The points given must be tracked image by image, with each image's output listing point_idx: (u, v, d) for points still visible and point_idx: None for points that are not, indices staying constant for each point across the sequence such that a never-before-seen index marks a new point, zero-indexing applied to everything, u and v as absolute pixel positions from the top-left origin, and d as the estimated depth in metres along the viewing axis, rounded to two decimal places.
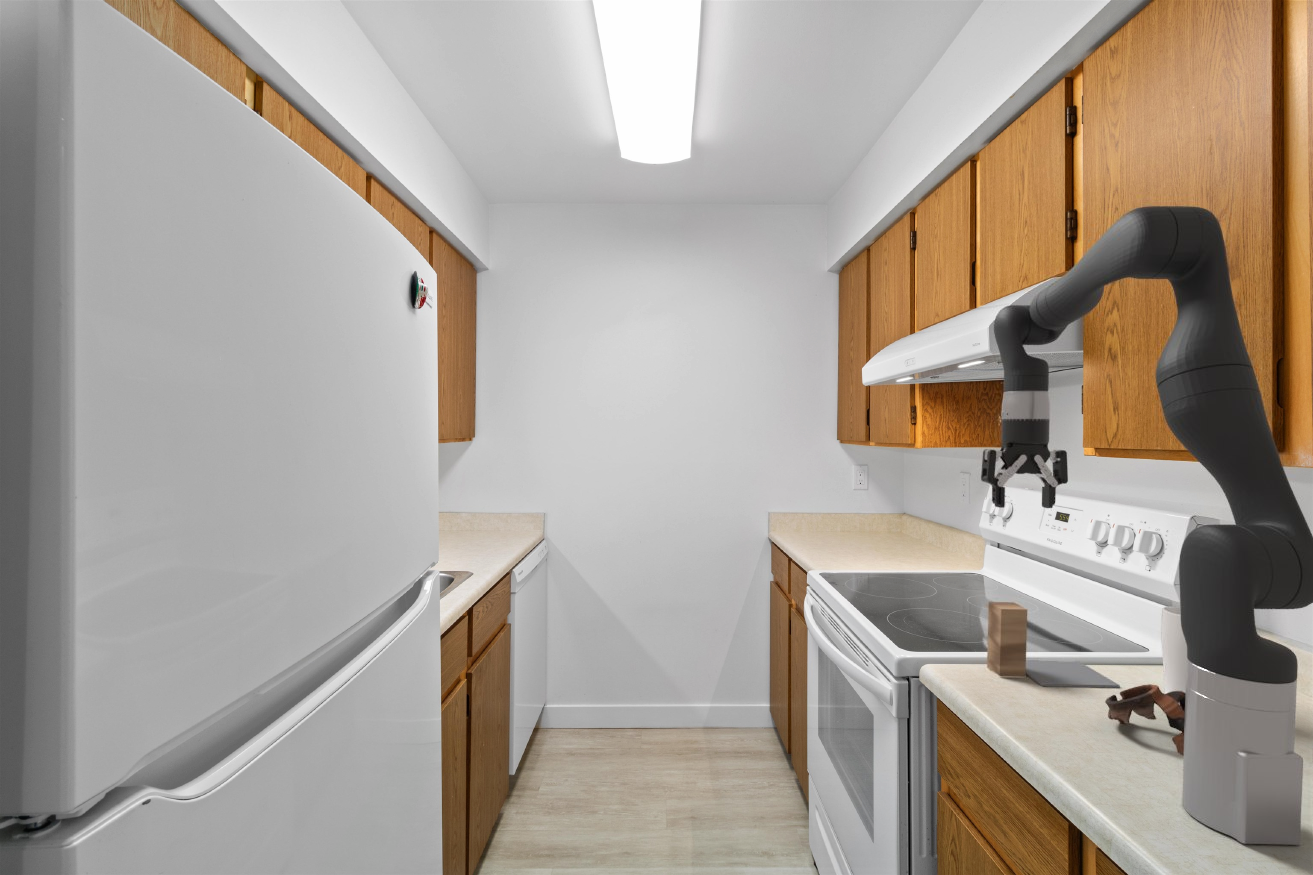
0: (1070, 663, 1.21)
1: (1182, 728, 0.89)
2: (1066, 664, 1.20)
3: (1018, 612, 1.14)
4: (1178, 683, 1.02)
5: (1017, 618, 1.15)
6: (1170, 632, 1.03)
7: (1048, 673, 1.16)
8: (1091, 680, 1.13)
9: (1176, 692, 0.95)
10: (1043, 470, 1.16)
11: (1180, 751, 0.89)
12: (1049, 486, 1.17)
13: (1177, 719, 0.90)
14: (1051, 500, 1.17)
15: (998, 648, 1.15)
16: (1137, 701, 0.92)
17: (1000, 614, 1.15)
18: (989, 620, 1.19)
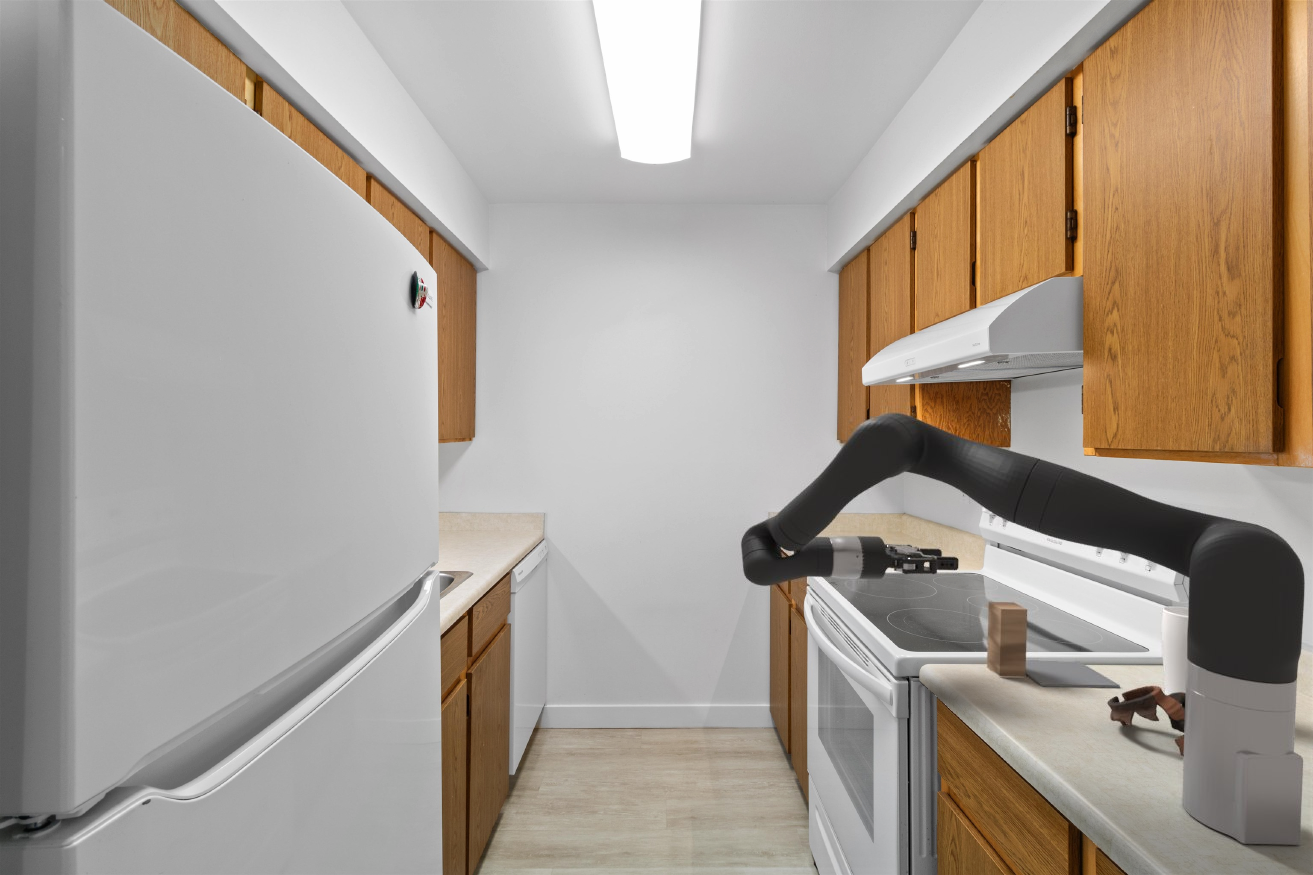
0: (1070, 663, 1.21)
1: None
2: (1066, 664, 1.20)
3: (1018, 612, 1.14)
4: (1178, 683, 1.02)
5: (1017, 618, 1.15)
6: (1170, 632, 1.03)
7: (1048, 673, 1.16)
8: (1091, 680, 1.13)
9: (1178, 693, 0.94)
10: (904, 546, 1.19)
11: (1183, 753, 0.88)
12: (919, 551, 1.20)
13: (1180, 721, 0.89)
14: None
15: (998, 648, 1.15)
16: (1140, 703, 0.91)
17: (1000, 614, 1.15)
18: (989, 620, 1.19)
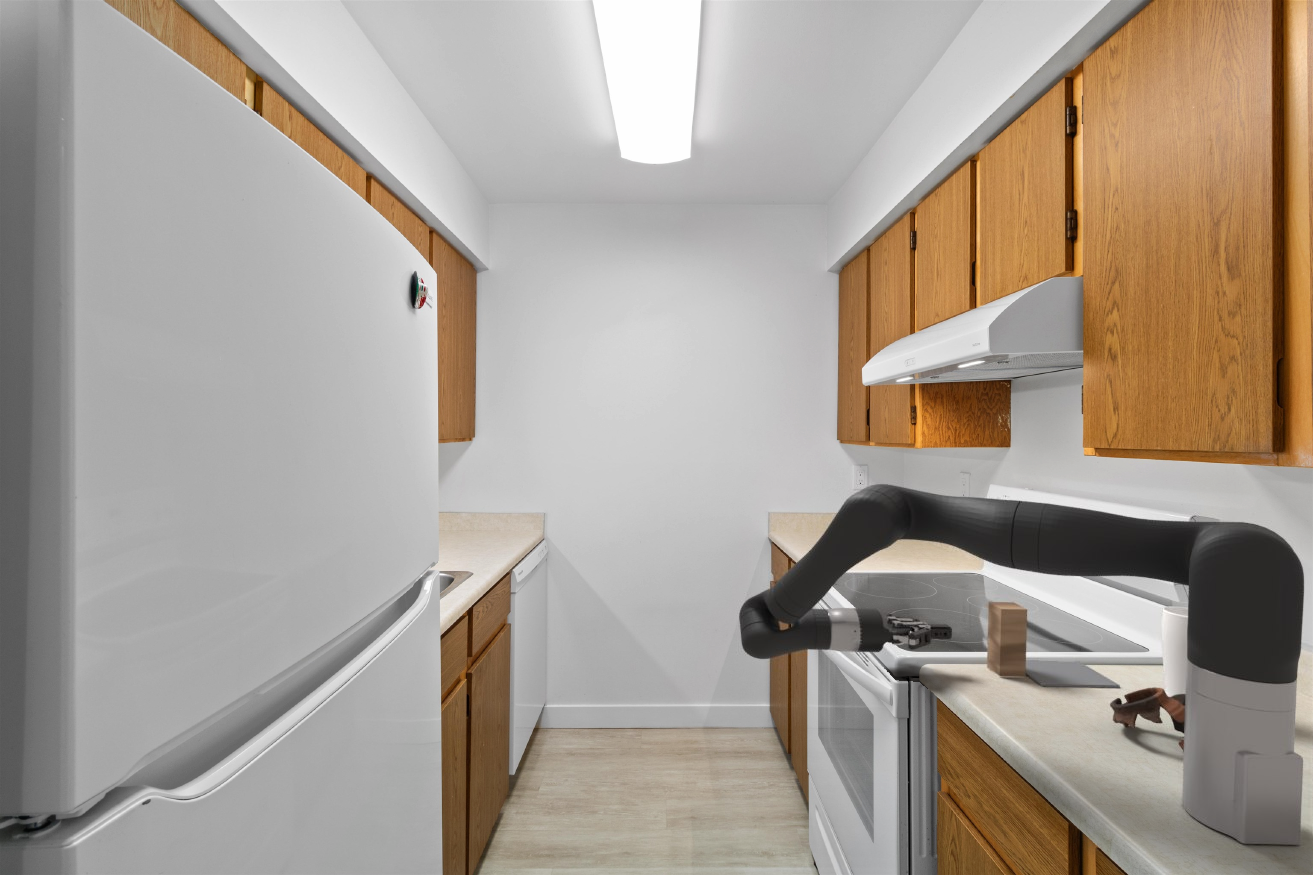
0: (1070, 663, 1.21)
1: None
2: (1066, 664, 1.20)
3: (1018, 612, 1.15)
4: (1178, 683, 1.02)
5: (1017, 618, 1.15)
6: (1170, 632, 1.03)
7: (1048, 673, 1.16)
8: (1091, 680, 1.13)
9: (1181, 695, 0.94)
10: (905, 619, 1.18)
11: None
12: None
13: (1183, 723, 0.89)
14: (941, 624, 1.17)
15: (998, 648, 1.15)
16: (1143, 705, 0.91)
17: (1000, 614, 1.15)
18: (989, 620, 1.19)
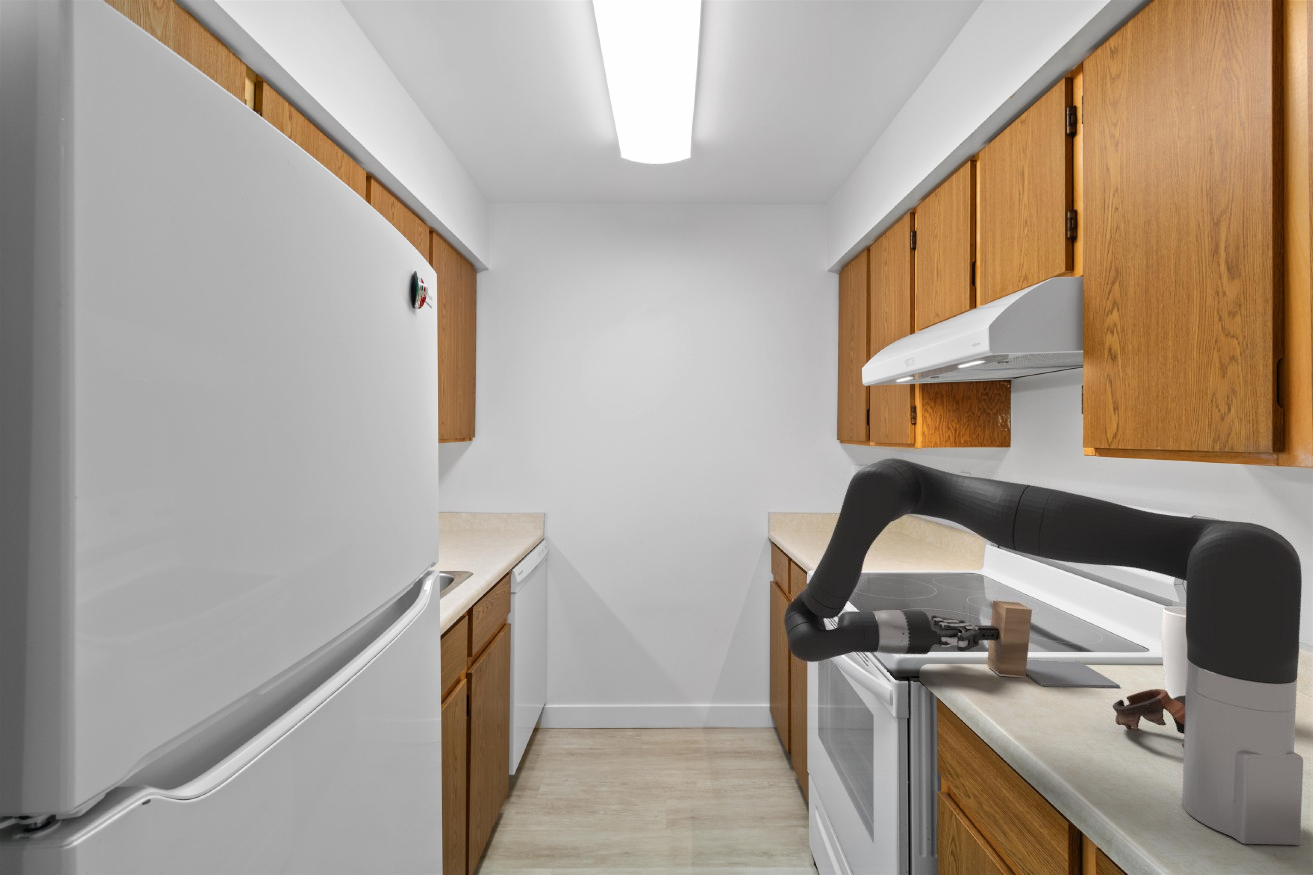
0: (1070, 663, 1.21)
1: None
2: (1066, 664, 1.20)
3: (1022, 611, 1.14)
4: (1178, 683, 1.02)
5: (1021, 618, 1.14)
6: (1170, 632, 1.03)
7: (1048, 673, 1.16)
8: (1091, 680, 1.13)
9: (1184, 697, 0.93)
10: (951, 621, 1.18)
11: None
12: None
13: None
14: (987, 625, 1.17)
15: (1000, 646, 1.15)
16: (1146, 706, 0.90)
17: (1004, 612, 1.15)
18: (993, 619, 1.18)
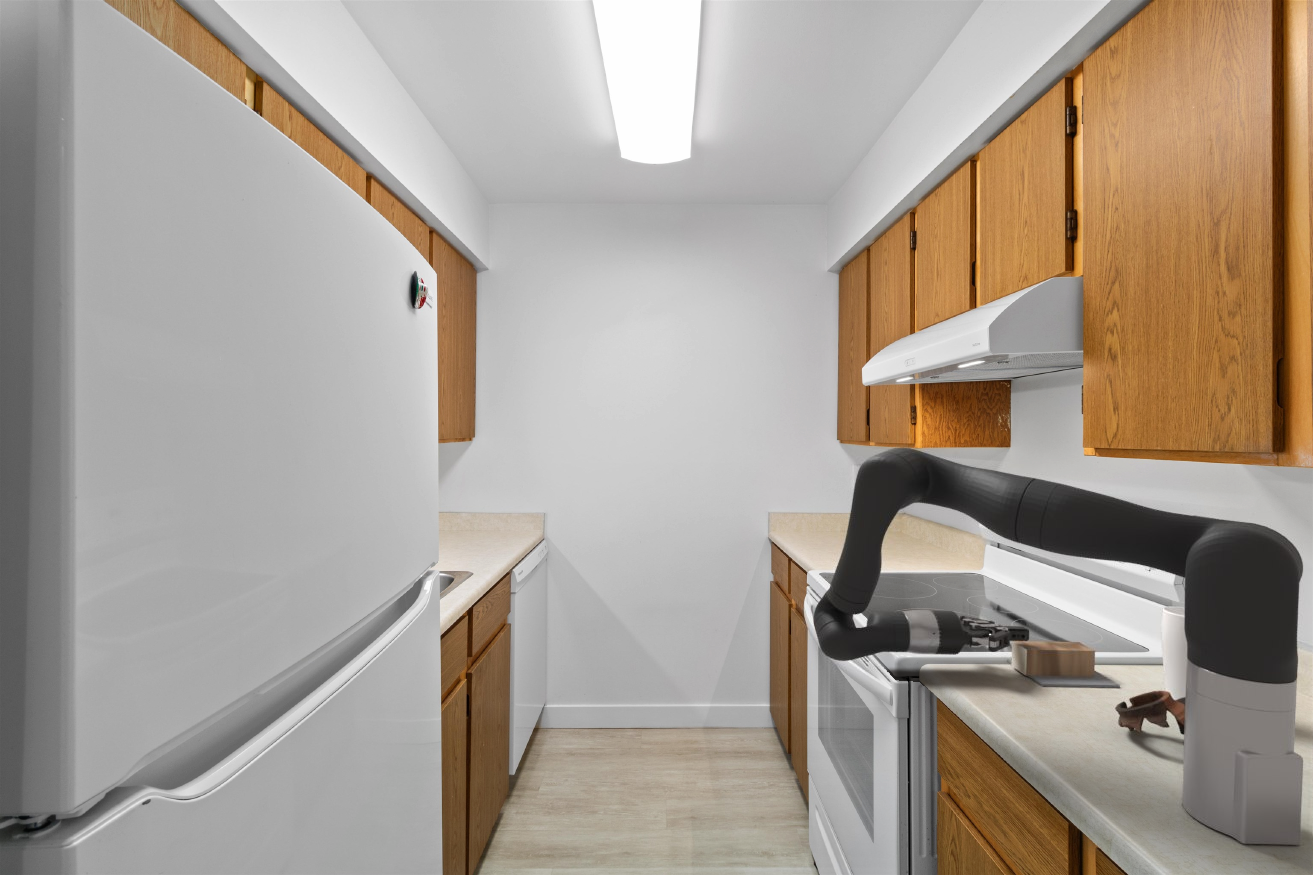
0: None
1: None
2: None
3: (1091, 667, 1.15)
4: (1178, 683, 1.02)
5: (1085, 666, 1.15)
6: (1170, 632, 1.03)
7: None
8: (1091, 680, 1.13)
9: None
10: (981, 621, 1.18)
11: None
12: None
13: None
14: (1017, 626, 1.17)
15: (1051, 648, 1.15)
16: (1149, 708, 0.89)
17: (1088, 650, 1.15)
18: (1062, 642, 1.18)
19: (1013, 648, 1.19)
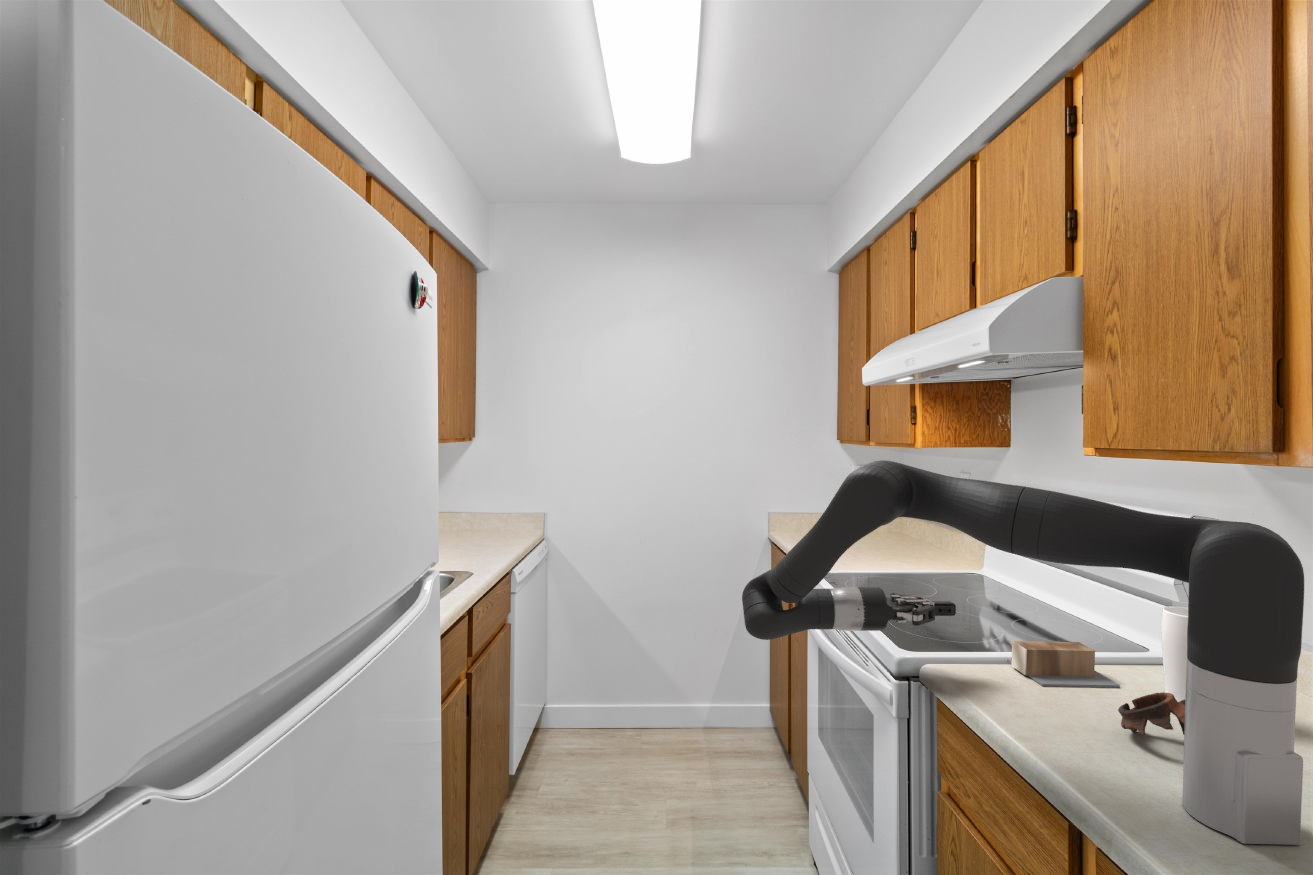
0: None
1: None
2: None
3: (1091, 667, 1.15)
4: (1178, 683, 1.02)
5: (1085, 666, 1.15)
6: (1170, 632, 1.03)
7: None
8: (1091, 680, 1.13)
9: None
10: (908, 597, 1.17)
11: None
12: None
13: None
14: (944, 601, 1.17)
15: (1051, 648, 1.15)
16: (1153, 710, 0.89)
17: (1088, 650, 1.15)
18: (1062, 642, 1.18)
19: (1013, 648, 1.19)
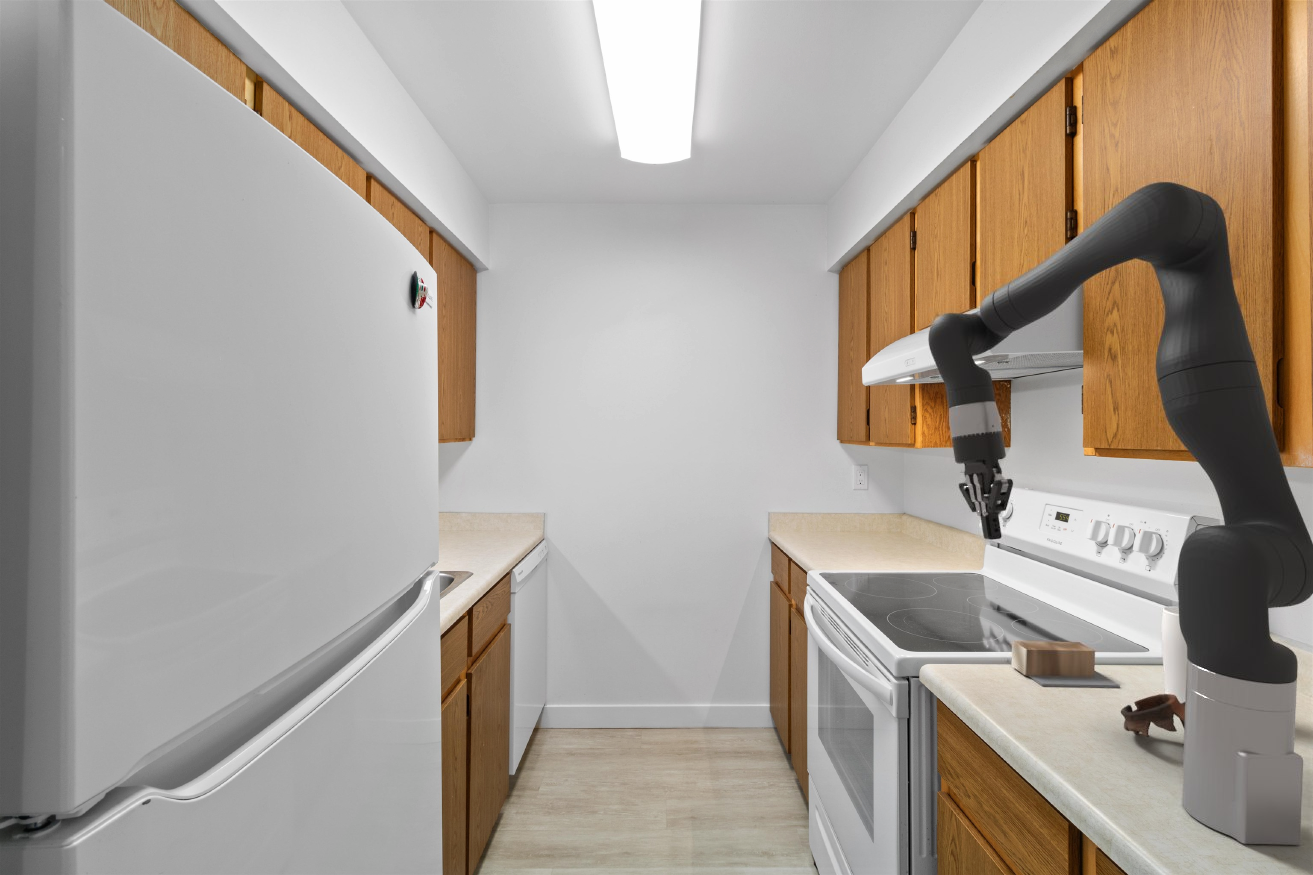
0: None
1: None
2: None
3: (1091, 667, 1.15)
4: (1178, 683, 1.02)
5: (1085, 666, 1.15)
6: (1170, 632, 1.03)
7: None
8: (1091, 680, 1.13)
9: None
10: None
11: None
12: None
13: None
14: None
15: (1051, 648, 1.15)
16: (1156, 712, 0.88)
17: (1088, 650, 1.15)
18: (1062, 642, 1.18)
19: (1013, 648, 1.19)
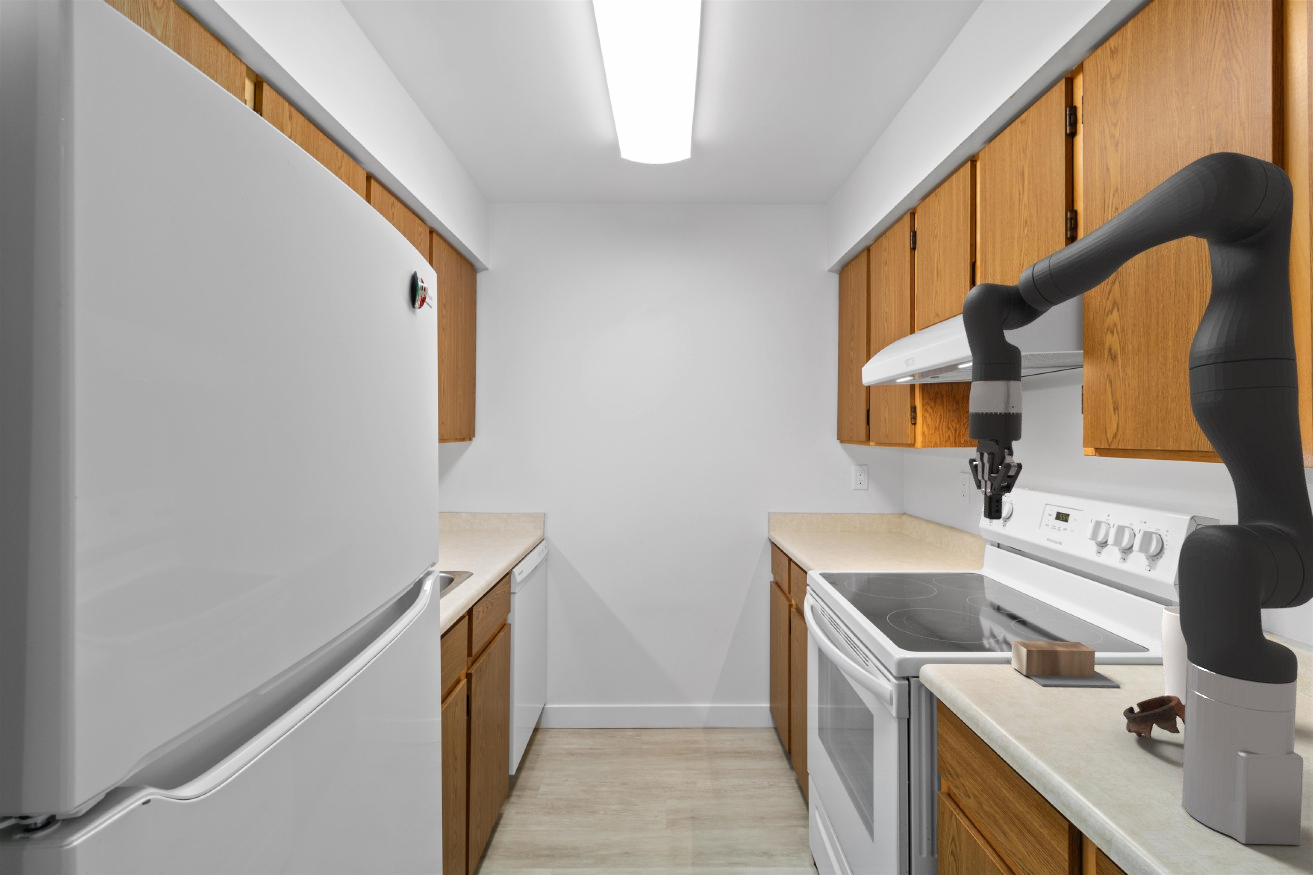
0: None
1: None
2: None
3: (1091, 667, 1.15)
4: (1178, 683, 1.02)
5: (1085, 666, 1.15)
6: (1170, 632, 1.03)
7: None
8: (1091, 680, 1.13)
9: None
10: None
11: None
12: None
13: None
14: None
15: (1051, 648, 1.15)
16: (1159, 714, 0.88)
17: (1088, 650, 1.15)
18: (1062, 642, 1.18)
19: (1013, 648, 1.19)
